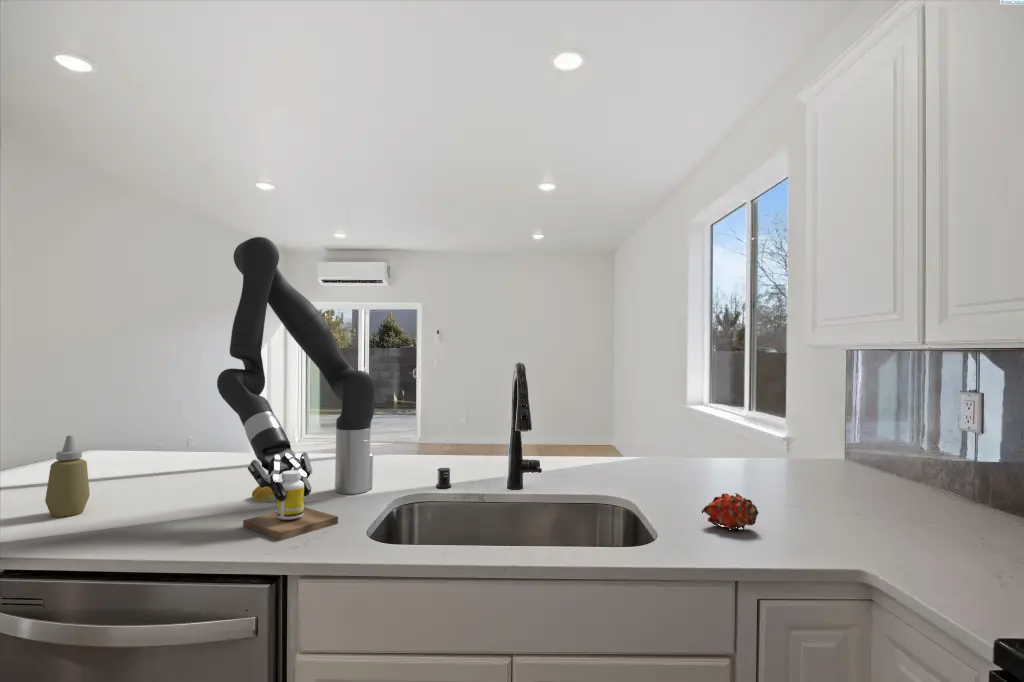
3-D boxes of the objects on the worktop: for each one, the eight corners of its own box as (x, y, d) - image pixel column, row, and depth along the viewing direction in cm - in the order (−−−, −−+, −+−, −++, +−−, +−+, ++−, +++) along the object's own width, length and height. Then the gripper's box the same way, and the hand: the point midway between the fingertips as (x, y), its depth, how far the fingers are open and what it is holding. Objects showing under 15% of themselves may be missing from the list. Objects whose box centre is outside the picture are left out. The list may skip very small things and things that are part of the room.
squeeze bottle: (96, 511, 129) (99, 435, 130) (56, 521, 122) (59, 439, 122) (77, 507, 133) (79, 432, 133) (36, 516, 125) (39, 436, 126)
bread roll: (259, 505, 137) (259, 489, 137) (248, 498, 144) (248, 482, 144) (292, 500, 143) (293, 484, 143) (281, 493, 149) (281, 478, 149)
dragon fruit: (763, 540, 120) (706, 542, 124) (755, 508, 127) (701, 511, 131) (762, 514, 116) (702, 517, 119) (754, 483, 123) (697, 487, 126)
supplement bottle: (308, 514, 123) (310, 470, 123) (291, 521, 118) (293, 475, 118) (289, 511, 125) (290, 468, 125) (271, 518, 120) (272, 473, 120)
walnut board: (300, 512, 131) (300, 506, 131) (337, 523, 123) (338, 516, 123) (243, 527, 120) (243, 520, 120) (280, 540, 112) (280, 532, 112)
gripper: (243, 428, 120) (272, 492, 113) (301, 422, 132) (331, 480, 125) (229, 450, 123) (257, 514, 116) (287, 442, 135) (316, 500, 128)
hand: (295, 496), depth 120 cm, fingers closed on supplement bottle, 5 cm apart
